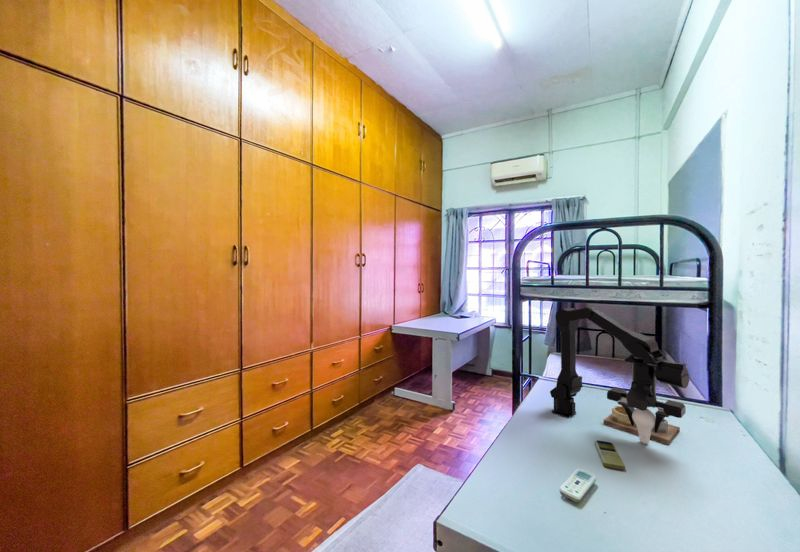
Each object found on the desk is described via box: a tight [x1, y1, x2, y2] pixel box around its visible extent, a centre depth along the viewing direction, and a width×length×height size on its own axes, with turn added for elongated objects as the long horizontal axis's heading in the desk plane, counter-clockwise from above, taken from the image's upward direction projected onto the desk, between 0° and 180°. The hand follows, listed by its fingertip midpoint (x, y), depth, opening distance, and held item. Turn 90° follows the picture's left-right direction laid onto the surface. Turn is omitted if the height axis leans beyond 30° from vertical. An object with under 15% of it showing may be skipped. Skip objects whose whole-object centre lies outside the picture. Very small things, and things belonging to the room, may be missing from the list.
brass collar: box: [611, 405, 636, 426], centre depth 112 cm, size 9×9×3 cm
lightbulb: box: [632, 408, 656, 445], centre depth 100 cm, size 6×6×11 cm
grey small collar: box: [652, 418, 669, 432], centre depth 106 cm, size 5×5×3 cm
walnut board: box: [603, 413, 681, 446], centre depth 110 cm, size 18×13×2 cm
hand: (644, 428), depth 100 cm, fingers closed on lightbulb, 6 cm apart
